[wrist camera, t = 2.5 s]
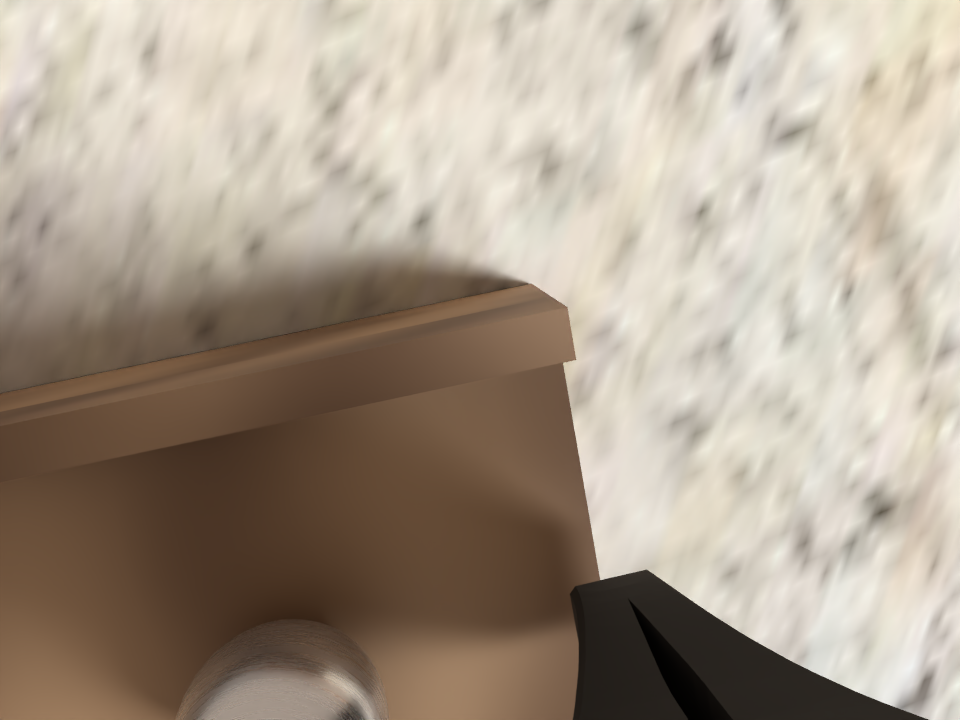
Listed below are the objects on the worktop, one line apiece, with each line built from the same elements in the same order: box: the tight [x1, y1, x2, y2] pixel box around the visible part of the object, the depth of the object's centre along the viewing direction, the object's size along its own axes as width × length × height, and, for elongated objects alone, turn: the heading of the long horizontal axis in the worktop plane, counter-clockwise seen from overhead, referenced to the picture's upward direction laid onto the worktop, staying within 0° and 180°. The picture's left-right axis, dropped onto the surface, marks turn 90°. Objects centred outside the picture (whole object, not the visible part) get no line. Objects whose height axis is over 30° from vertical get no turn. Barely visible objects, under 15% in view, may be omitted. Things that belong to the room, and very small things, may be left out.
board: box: [0, 284, 600, 720], centre depth 12 cm, size 18×11×3 cm, turn 101°
